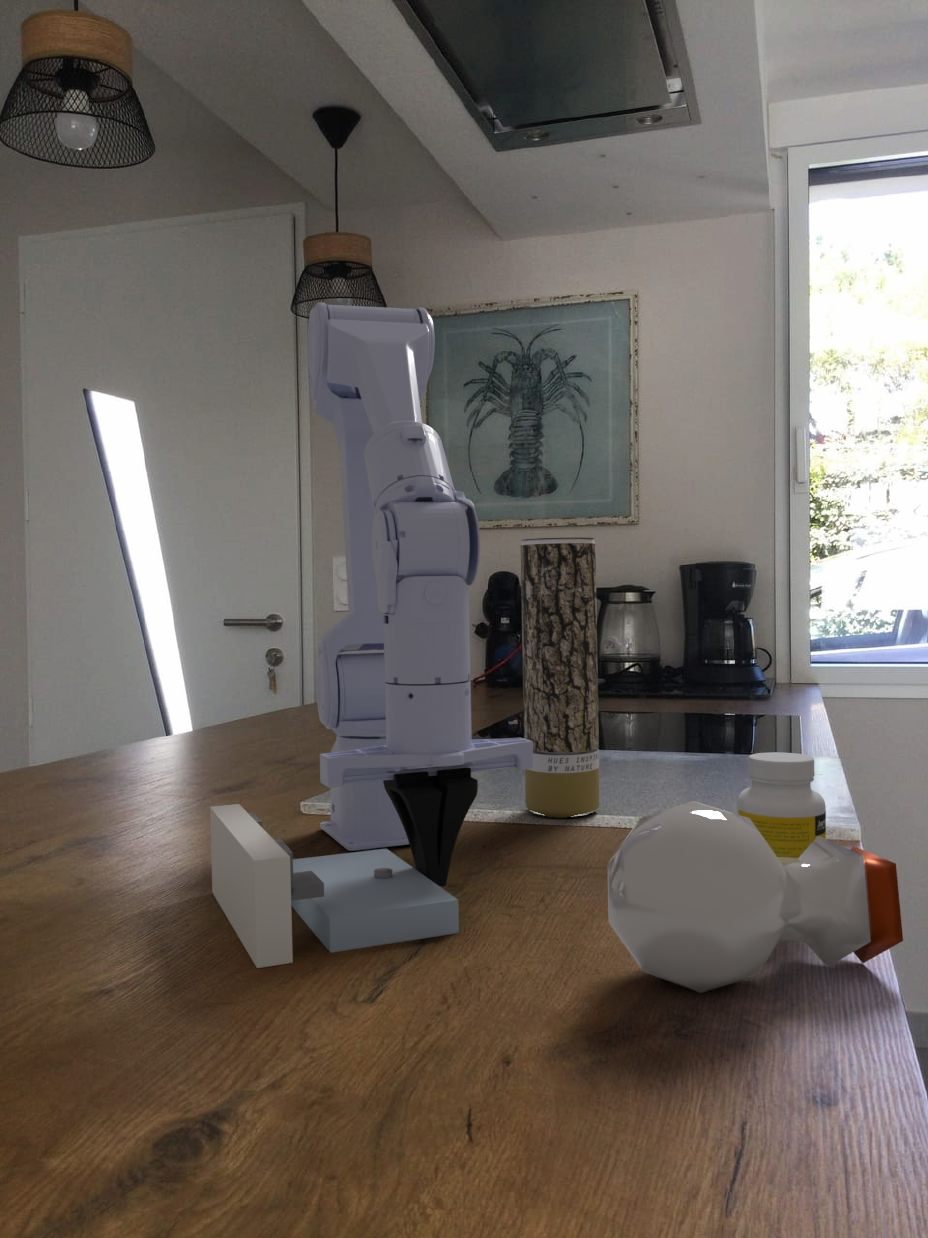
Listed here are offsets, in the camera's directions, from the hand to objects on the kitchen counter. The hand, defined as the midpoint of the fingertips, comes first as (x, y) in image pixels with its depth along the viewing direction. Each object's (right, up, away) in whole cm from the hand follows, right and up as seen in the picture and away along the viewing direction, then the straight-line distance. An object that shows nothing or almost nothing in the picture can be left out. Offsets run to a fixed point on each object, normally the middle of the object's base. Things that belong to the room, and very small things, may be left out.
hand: (432, 883), depth 71 cm
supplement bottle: (+22, -1, -4) cm, 23 cm away
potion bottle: (+17, -1, -15) cm, 23 cm away
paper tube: (+11, 0, +26) cm, 28 cm away
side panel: (-10, -1, -4) cm, 11 cm away
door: (-5, -2, -2) cm, 5 cm away
